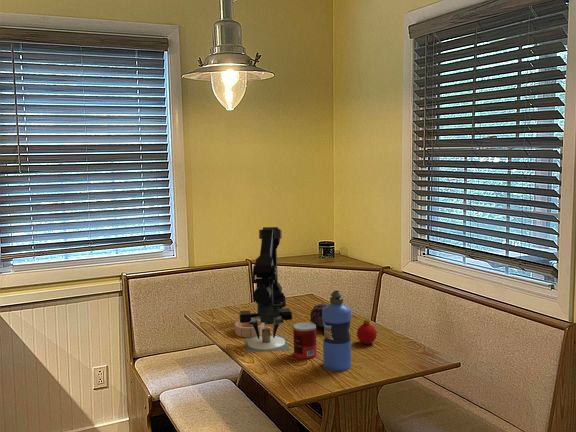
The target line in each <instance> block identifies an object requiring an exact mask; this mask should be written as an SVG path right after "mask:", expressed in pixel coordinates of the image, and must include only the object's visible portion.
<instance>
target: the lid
mask: <svg viewBox="0 0 576 432" xmlns="http://www.w3.org/2000/svg"><path fill="white" fill-rule="evenodd" d="M278 336H279V335H275V338H273V335H271V328H268V327H267V328H266V327H265V328H264V329H262V335H260V336H259V339H258V337H250V338H251V339H250V340H248V346H249V347H250V348H252V349H255V350H274V349H278V348H281V347H283V346H284V345H285V340H284V339H283V338H281V337H278Z"/></svg>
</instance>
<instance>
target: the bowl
mask: <svg viewBox="0 0 576 432" xmlns="http://www.w3.org/2000/svg"><path fill="white" fill-rule="evenodd" d="M257 324H258V330H259V336H262V329H264V328H266V327H265V324H266V322H265V323H262V322H261V321H260V318H257ZM234 333H235V335H236V336H238V337H239V338H254V337H257V334H256V331H255V329H254V327H253V325H252V324H249V322H247V323H240V320H238V321H236V322H235V323H234Z"/></svg>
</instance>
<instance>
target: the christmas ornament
mask: <svg viewBox="0 0 576 432" xmlns="http://www.w3.org/2000/svg"><path fill="white" fill-rule="evenodd" d="M377 333H378V332H377V330H376V328H375V327H374V326H373V325H372V324H371V323H370V317H368V316H365V318H364V319H363V323H362V324H361V325H360V326H358V328H357V330H356V337H357V339H358V341H360V342H361V343H362V344H365V345H369V344H371V343H374V342H375V340H376V339H377Z"/></svg>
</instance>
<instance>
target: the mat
mask: <svg viewBox="0 0 576 432" xmlns="http://www.w3.org/2000/svg"><path fill="white" fill-rule="evenodd" d="M277 336H278V337H281V338H283V339H284V340H285V345H284V346H283V347H281V348H278V349H274V350H255V349H252V348H250V347H249V346H248V340H250V339H251V338H252V337H244V342H245V343H244V344H245V348H246V353H247V354H249V353H262V352H273V351H274V352H276V351H290V350H291V349H290V346H289V344H288V341H287V339H286V337H285V335H277Z"/></svg>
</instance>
